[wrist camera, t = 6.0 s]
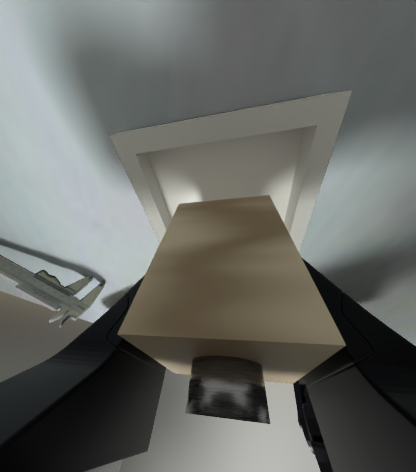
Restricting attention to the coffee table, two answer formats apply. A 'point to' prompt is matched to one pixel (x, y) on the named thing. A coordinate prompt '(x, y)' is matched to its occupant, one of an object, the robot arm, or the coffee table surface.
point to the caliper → (50, 290)
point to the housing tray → (236, 158)
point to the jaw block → (231, 307)
